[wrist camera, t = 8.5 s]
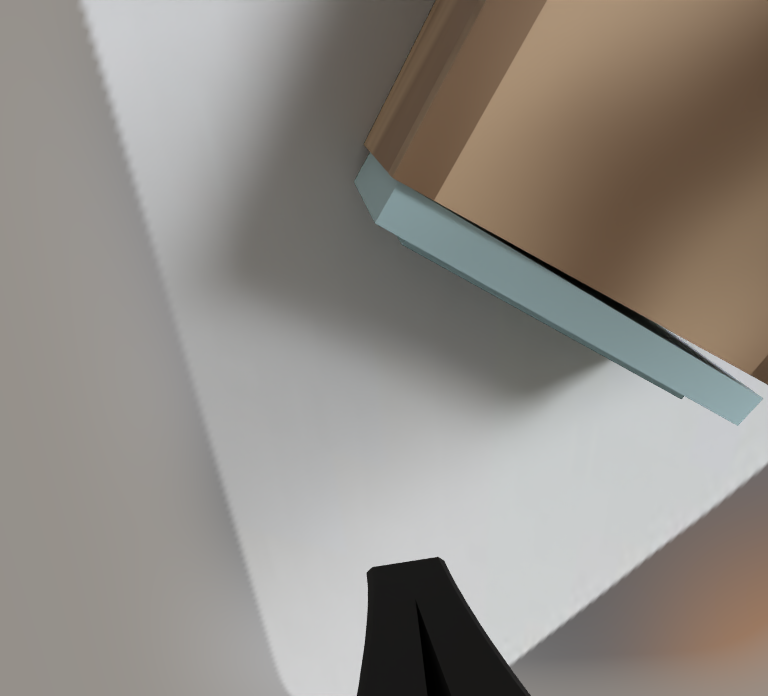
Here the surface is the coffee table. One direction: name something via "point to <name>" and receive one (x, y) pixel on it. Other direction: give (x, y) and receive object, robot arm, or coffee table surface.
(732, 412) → the door
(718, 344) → the wooden paneled box
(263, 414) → the coffee table surface
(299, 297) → the coffee table surface
